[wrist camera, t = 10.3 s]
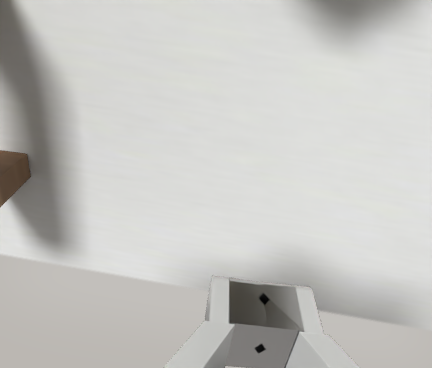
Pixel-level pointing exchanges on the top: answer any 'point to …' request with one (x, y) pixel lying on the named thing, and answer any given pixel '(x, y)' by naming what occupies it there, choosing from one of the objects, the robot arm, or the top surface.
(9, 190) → the bridge
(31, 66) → the top surface
